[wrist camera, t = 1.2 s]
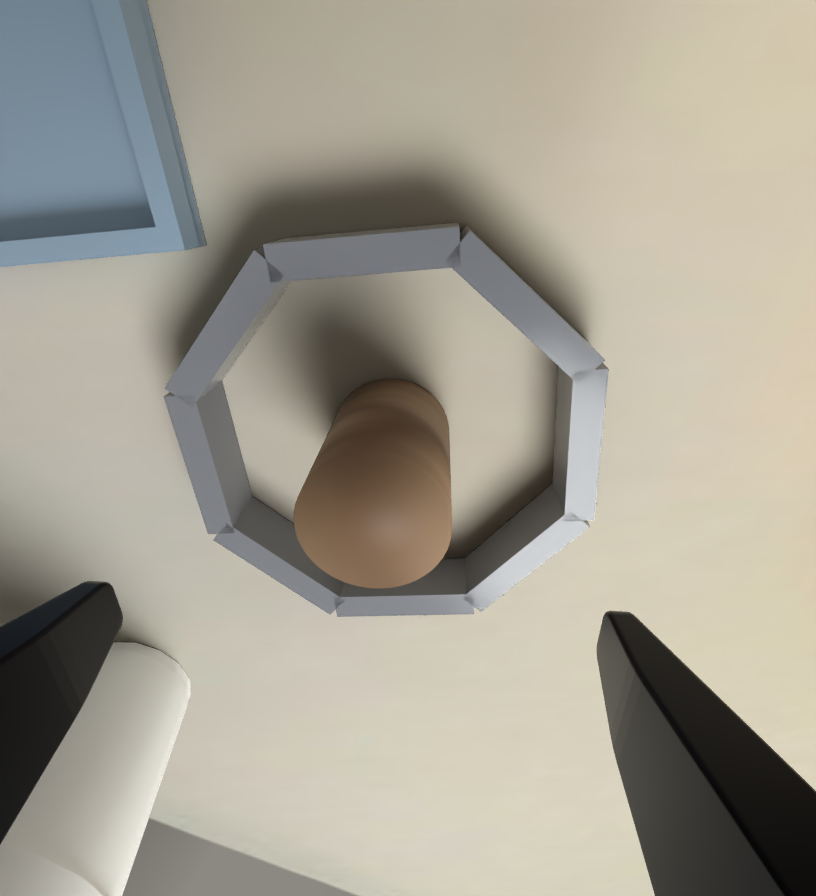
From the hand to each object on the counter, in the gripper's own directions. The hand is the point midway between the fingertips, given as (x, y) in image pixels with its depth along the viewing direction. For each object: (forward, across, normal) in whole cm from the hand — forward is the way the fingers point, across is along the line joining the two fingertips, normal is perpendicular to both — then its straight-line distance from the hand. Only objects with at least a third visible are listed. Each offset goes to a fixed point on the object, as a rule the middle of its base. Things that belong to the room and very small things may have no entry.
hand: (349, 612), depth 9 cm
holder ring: (+13, +1, +3) cm, 13 cm away
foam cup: (+13, +17, +20) cm, 29 cm away
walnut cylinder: (+13, +1, +3) cm, 13 cm away
